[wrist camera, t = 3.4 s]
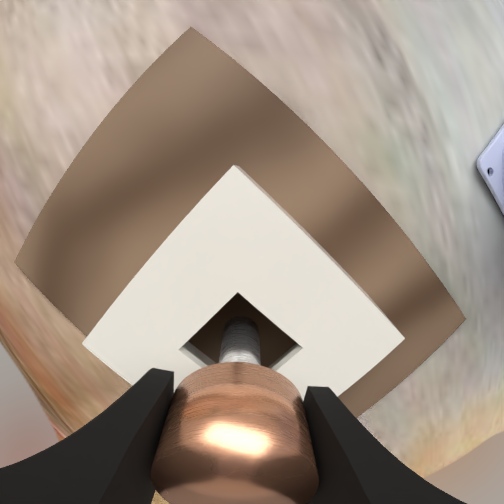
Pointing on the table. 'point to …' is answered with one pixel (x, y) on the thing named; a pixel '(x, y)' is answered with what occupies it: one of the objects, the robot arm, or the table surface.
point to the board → (199, 184)
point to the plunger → (236, 432)
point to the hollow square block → (244, 295)
